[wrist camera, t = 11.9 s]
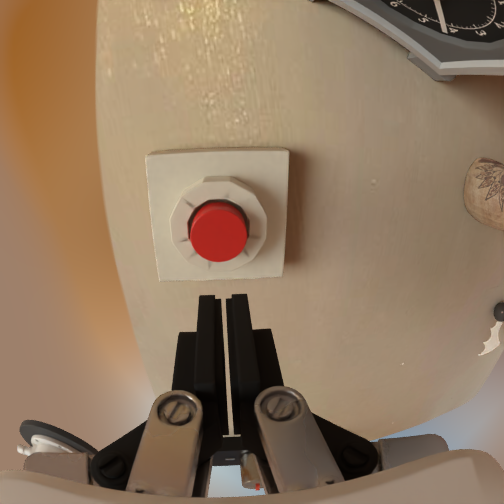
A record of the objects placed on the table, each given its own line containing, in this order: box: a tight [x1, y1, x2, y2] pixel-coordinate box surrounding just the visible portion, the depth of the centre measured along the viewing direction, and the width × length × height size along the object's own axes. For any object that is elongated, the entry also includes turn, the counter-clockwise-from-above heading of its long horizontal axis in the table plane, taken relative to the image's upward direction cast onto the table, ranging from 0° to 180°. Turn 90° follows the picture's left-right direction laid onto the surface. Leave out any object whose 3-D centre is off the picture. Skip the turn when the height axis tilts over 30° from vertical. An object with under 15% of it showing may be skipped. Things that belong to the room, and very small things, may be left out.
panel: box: [212, 437, 250, 466], centre depth 39 cm, size 14×9×3 cm, turn 90°
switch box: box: [145, 147, 289, 282], centre depth 22 cm, size 10×10×4 cm
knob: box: [240, 452, 263, 490], centre depth 35 cm, size 4×4×5 cm
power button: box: [190, 202, 247, 262], centre depth 20 cm, size 4×4×2 cm
